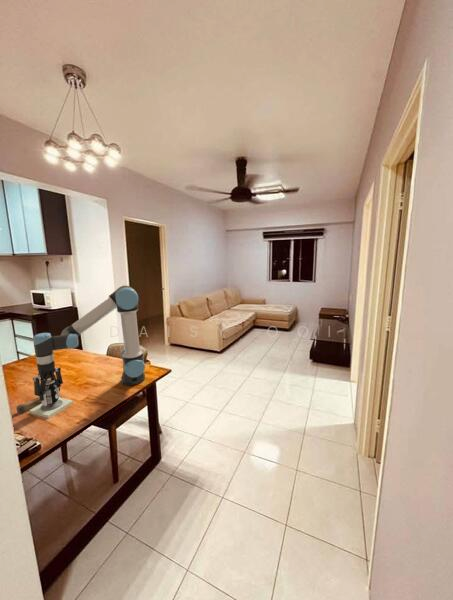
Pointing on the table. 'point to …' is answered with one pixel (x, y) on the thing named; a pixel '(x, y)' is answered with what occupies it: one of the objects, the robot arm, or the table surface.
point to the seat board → (51, 408)
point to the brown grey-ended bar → (28, 405)
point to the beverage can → (51, 392)
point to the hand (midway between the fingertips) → (51, 401)
